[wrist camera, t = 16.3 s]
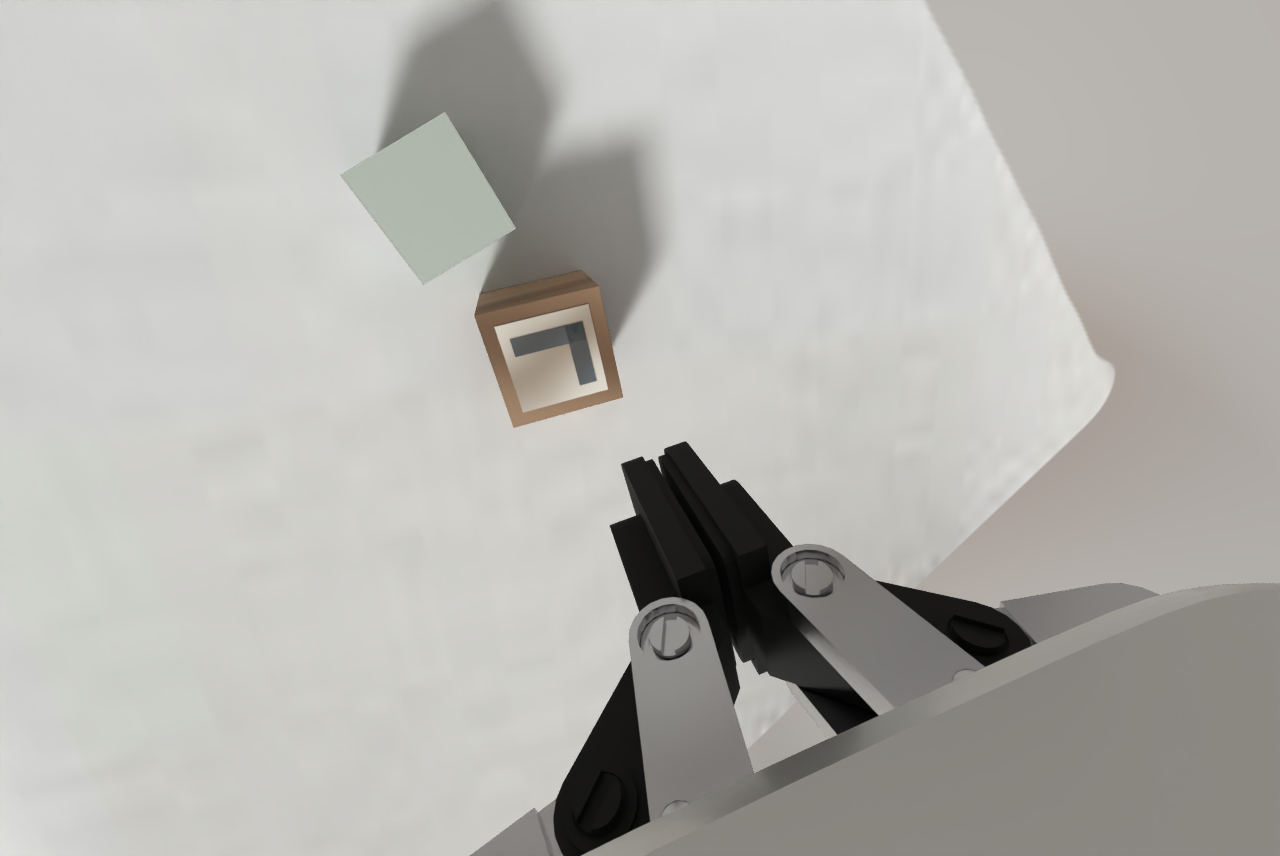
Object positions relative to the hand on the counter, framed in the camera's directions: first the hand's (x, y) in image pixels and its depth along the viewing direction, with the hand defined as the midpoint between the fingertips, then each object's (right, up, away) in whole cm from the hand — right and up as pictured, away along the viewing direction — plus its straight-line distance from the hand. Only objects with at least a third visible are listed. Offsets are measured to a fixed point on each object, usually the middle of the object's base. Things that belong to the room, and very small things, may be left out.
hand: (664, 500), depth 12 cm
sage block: (-11, +14, +13) cm, 22 cm away
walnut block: (-5, +5, +12) cm, 14 cm away
